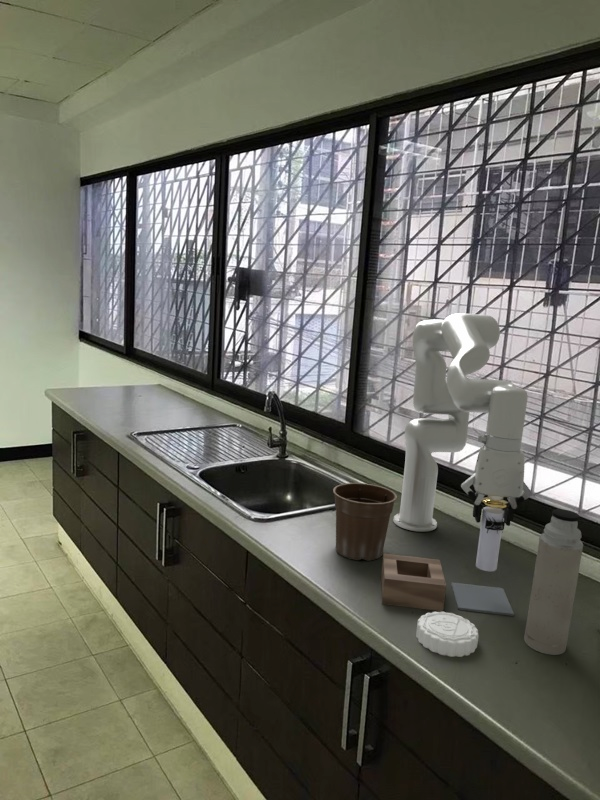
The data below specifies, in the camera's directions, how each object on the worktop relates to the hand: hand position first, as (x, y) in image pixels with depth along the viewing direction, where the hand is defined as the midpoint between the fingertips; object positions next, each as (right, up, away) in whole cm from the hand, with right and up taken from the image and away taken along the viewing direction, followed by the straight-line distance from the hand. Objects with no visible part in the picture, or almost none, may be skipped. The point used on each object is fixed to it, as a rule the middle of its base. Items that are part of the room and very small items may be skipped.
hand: (492, 521), depth 144 cm
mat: (-1, -18, +4) cm, 19 cm away
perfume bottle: (-1, -12, +2) cm, 12 cm away
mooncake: (-13, -21, -14) cm, 29 cm away
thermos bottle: (+7, -22, -13) cm, 27 cm away
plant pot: (-27, -13, +25) cm, 39 cm away
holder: (-17, -17, +4) cm, 25 cm away
